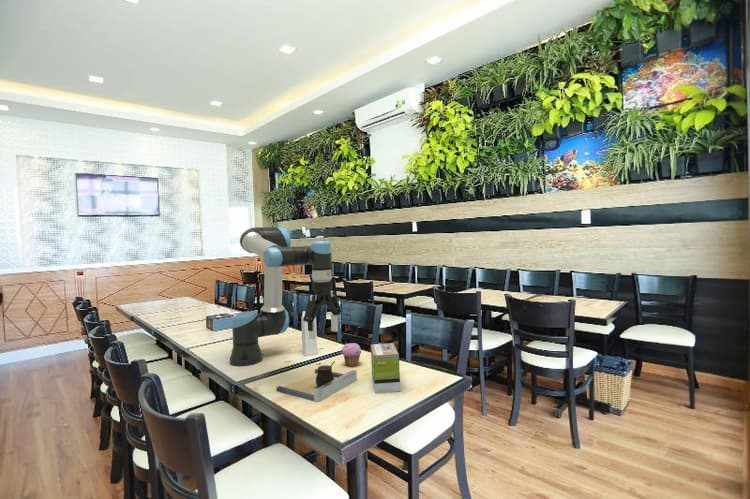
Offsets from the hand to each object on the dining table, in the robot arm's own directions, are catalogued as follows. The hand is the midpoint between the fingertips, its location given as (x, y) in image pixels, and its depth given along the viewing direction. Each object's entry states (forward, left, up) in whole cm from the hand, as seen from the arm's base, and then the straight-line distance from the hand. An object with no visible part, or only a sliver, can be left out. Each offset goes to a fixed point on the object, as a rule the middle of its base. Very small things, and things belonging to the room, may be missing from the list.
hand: (323, 335), depth 154 cm
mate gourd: (0, 0, -21) cm, 21 cm away
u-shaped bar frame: (-3, 0, -21) cm, 21 cm away
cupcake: (-6, +27, -21) cm, 35 cm away
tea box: (+20, +13, -21) cm, 31 cm away
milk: (-35, +31, -21) cm, 51 cm away
